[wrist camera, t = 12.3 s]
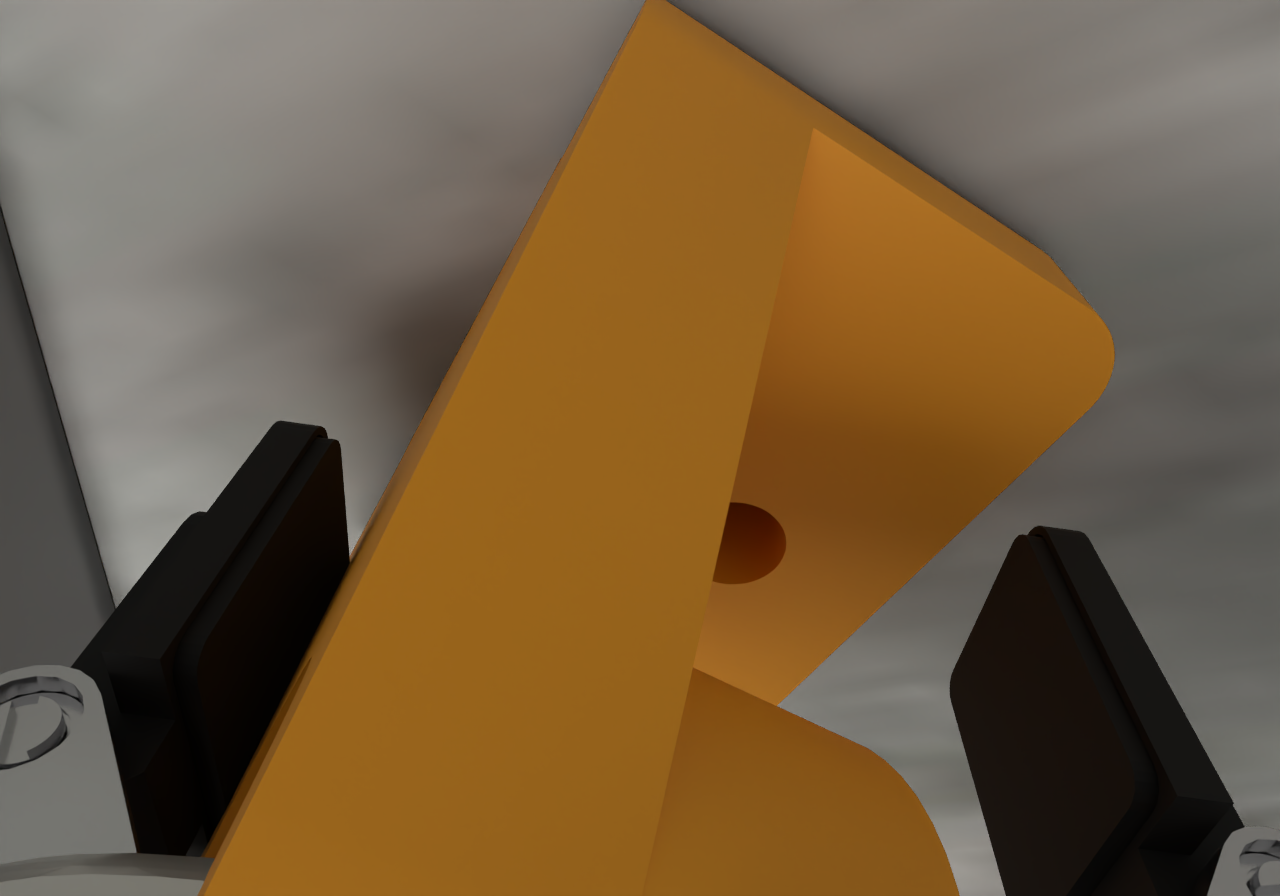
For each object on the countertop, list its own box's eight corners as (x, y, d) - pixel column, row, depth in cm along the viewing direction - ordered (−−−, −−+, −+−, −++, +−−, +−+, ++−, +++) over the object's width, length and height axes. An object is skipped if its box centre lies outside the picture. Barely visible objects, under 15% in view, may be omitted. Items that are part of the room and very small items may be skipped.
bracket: (688, 679, 19) (662, 1632, 9) (362, 529, 17) (-131, 1503, 7) (1076, 264, 13) (2215, 1557, 3) (654, -19, 11) (290, 874, 2)
